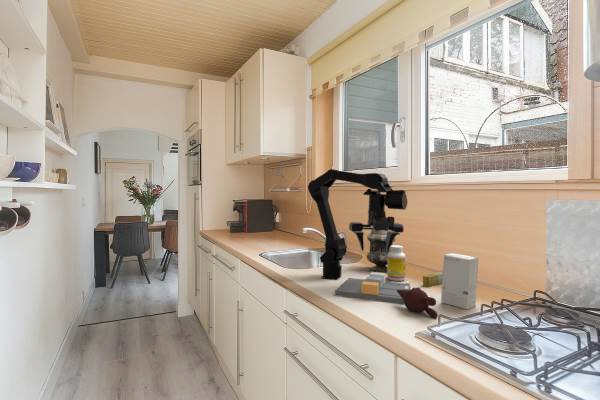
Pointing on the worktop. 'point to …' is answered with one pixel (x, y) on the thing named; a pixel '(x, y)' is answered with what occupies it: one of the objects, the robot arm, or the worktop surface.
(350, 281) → the panel
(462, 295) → the skincare box
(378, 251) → the apothecary jar
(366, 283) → the slider orange
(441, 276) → the medication box
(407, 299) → the beetroot
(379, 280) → the slider blue
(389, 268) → the supplement bottle
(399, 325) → the worktop surface
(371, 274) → the slider white
